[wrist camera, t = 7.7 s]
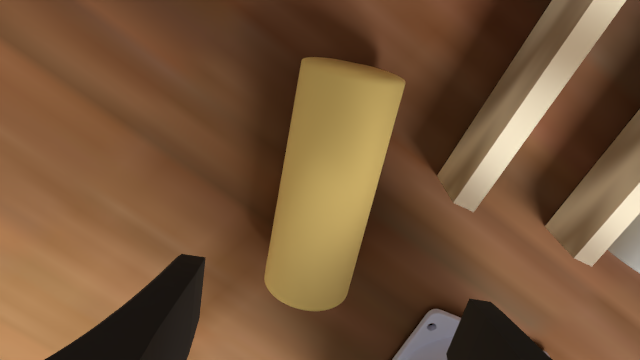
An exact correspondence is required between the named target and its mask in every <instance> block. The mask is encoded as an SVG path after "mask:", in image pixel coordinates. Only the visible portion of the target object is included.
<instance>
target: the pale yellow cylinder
mask: <svg viewBox="0 0 640 360" xmlns="http://www.w3.org/2000/svg"><path fill="white" fill-rule="evenodd" d="M404 87H405V80H404V79H402V78H401V77H399V76H397V75H395V74H393V73H390V72H388V71H385V70H382V69H379V68H375V67H372V66H368V65H363V64H358V63H353V62H348V61H343V60H338V59H333V58H324V57H307V58H303V59H302V61H301V66H300V72H299V78H298V84H297V90H296V95H295V101H294V107H293V113H292V119H291V124H290V130H289V136H288V142H287V147H286V153H285V159H284V165H283V171H282V176H281V182H280V188H279V194H278V200H277V205H276V211H275V217H274V223H273V229H272V234H271V240H270V246H269V252H268V258H267V263H266V269H265V275H264V280H265V284H266V287H267V288H268V290H269V291H270V293H271V294H272V295H273V296H274V297H275V298H277V299H278V300H279V301H281V302H283V303H284V304H286V305H288V306H291V307H294V308H297V309H301V310H306V311H323V310H328V309H331V308H334V307H336V306H338V305H339V304H341V303H342V302H343V301H344V300H345V298H346V296H347V294H348V290H349V286H350V283H351V279H352V275H353V272H354V268H355V265H356V261H357V257H358V254H359V250H360V246H361V243H362V239H363V235H364V232H365V228H366V225H367V221H368V217H369V214H370V210H371V206H372V203H373V199H374V196H375V192H376V188H377V185H378V181H379V177H380V174H381V170H382V166H383V163H384V159H385V156H386V152H387V148H388V145H389V141H390V137H391V134H392V130H393V126H394V123H395V119H396V116H397V112H398V108H399V105H400V101H401V97H402V94H403V90H404Z"/></svg>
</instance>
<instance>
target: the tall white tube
mask: <svg viewBox="0 0 640 360" xmlns="http://www.w3.org/2000/svg"><path fill="white" fill-rule="evenodd" d="M607 250H609V251H610V252H611V253H612V254H613V255H615V256H616V257H617V258H619V259H620V260H621V261H623V262H624V263H625V264H627V265H628V266H630V267H631V268H633V269H634V270H636V271H637V272H639V273H640V213H639V215H638V216H637V217H636V218H635V219H634V220H633V221H632V222H631V223H630V225H629V226H628V227H627V228H626V229H625V230H624V231H623V232H622V233H621V235H620V236H619V237H618V238H617V239H616V240H615V241H614V242H613V243H612V245H611V246H610V247H609V248H608V249H607Z"/></svg>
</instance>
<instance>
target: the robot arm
mask: <svg viewBox="0 0 640 360" xmlns="http://www.w3.org/2000/svg"><path fill="white" fill-rule="evenodd" d="M204 267H205V258H204V257H198V256H192V255H185V254H181V255H180V256H178V257H177V258H176V259H175V260H174V261H173V262H172V263H171V264H170V265H169V266H168V267H166V268H165V269H164V270H163V271H162V272H161V273H160V274H159V275H158V276H157V277H156V278H155V279H154V280H152V281H151V282H150V283H149V284H148V285H147V286H146V287H145V288H143V289H142V290H141V291H140V292H139V293H138V294H136V295H135V296H134V297H133V298H132V299H130V300H129V301H128V302H127V303H126V304H124V305H123V306H122V307H121V308H119V309H118V310H117V311H115V312H114V313H113V314H111V315H110V316H109V317H107V318H106V319H105V320H104V321H102V322H101V323H100V324H98V325H97V326H96V327H94V328H93V329H91V330H90V331H88V332H87V333H86V334H84V335H83V336H81V337H80V338H78V339H77V340H75V341H74V342H72V343H71V344H69V345H68V346H66V347H64V348H63V349H61V350H60V351H58V352H57V353H55V354H53V355H52V356H50V357H48V358H46V359H45V360H187V357H188V355H189V352H190V348H191V345H192V341H193V338H194V335H195V331H196V328H197V324H198V321H199V316H200V306H201V296H202V286H203V277H204ZM431 323H434V324H433V325H430V326H429V324H431ZM392 360H552V359H551V358H550V356H549V355H548V353H547V352H545V351H543V350H541V349H540V348H539V347H538V346H537V345H536V344H535V343H534V342H533V341H532V340H531V339H530V338H529V337H528V336H527V335H526V334H525V333H524V332H523V331H522V330H521V329H520V328H519V327H518V326H517V325H515V324H514V323H513V322H512V321H511V320H510V319H509V318H508V317H507V316H506V315H505V314H504V313H503V312H502V311H501V310H499V309H498V308H497V307H496V306H495V305H494V304H492V303H491V302H487V301H481V300H474V299H469V301H468V303H467V306H466V308H465V310H464V313H463V315H462V318H460V317H458V316H455V315H453V314H450V313H448V312H445V311H443V310H440V309H432V310H430V311H429V312H428V313H427V314H426V315H425V316H424V318H423V319H422V320H421V322H420V323H419V324H418V326H417V327H416V328H415V330H414V331H413V332H412V334H411V335H410V336H409V338H408V339H407V340H406V342H405V343H404V344H403V346H402V347H401V348H400V350H399V351H398V352H397V354H396V355H395V356H394V358H393V359H392Z"/></svg>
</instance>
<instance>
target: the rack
mask: <svg viewBox="0 0 640 360" xmlns="http://www.w3.org/2000/svg"><path fill="white" fill-rule="evenodd" d="M625 1H626V0H552V1H551V2H550V4H549V6H548V7H547V9H546V10H545V12H544V13H543V15H542V16H541V18H540V19H539V21H538V22H537V24H536V25H535V27H534V28H533V30H532V31H531V33H530V35H529V36H528V38H527V39H526V41H525V42H524V44H523V45H522V47H521V48H520V50H519V51H518V53H517V54H516V56H515V57H514V59H513V60H512V62H511V64H510V65H509V67H508V68H507V70H506V71H505V73H504V74H503V76H502V77H501V79H500V80H499V82H498V83H497V85H496V86H495V88H494V90H493V91H492V93H491V94H490V96H489V97H488V99H487V100H486V102H485V103H484V105H483V106H482V108H481V109H480V111H479V112H478V114H477V115H476V117H475V119H474V120H473V122H472V123H471V125H470V126H469V128H468V129H467V131H466V132H465V134H464V135H463V137H462V138H461V140H460V141H459V143H458V144H457V146H456V148H455V149H454V151H453V152H452V154H451V155H450V157H449V158H448V160H447V161H446V163H445V164H444V166H443V167H442V169H441V170H440V172H439V173H438V175H437V177H438V178H439V180H440V182H441V183H442V185H443V187H444V188H445V190H446V192H447V193H448V195H449V197H450V198H451V200H452V202H453V203H455V204H457V205H459V206H461V207H463V208H466V209H468V210H470V211H472V212H474V211H475V210H476V208H477V207H478V205H479V204H480V203H481V201H482V200H483V198H484V197H485V196H486V194H487V193H488V192H489V190H490V189H491V187H492V186H493V185H494V183H495V182H496V180H497V179H498V178H499V176H500V175H501V173H502V172H503V171H504V169H505V168H506V167H507V165H508V164H509V162H510V161H511V160H512V158H513V157H514V155H515V154H516V153H517V151H518V150H519V148H520V147H521V146H522V144H523V143H524V142H525V140H526V139H527V137H528V136H529V135H530V133H531V132H532V130H533V129H534V128H535V126H536V125H537V123H538V122H539V121H540V119H541V118H542V117H543V115H544V114H545V112H546V111H547V110H548V108H549V107H550V105H551V104H552V103H553V101H554V100H555V98H556V97H557V96H558V94H559V93H560V92H561V90H562V89H563V87H564V86H565V85H566V83H567V82H568V80H569V79H570V78H571V76H572V75H573V73H574V72H575V71H576V69H577V68H578V67H579V65H580V64H581V62H582V61H583V60H584V58H585V57H586V55H587V54H588V53H589V51H590V50H591V48H592V47H593V46H594V44H595V43H596V42H597V40H598V39H599V37H600V36H601V35H602V33H603V32H604V30H605V29H606V28H607V26H608V25H609V23H610V22H611V21H612V19H613V18H614V17H615V15H616V14H617V12H618V11H619V10H620V8H621V7H622V5H623V4H624V3H625ZM639 213H640V109H639V110H638V112H637V113H636V114H635V115H634V117H633V118H632V119H631V120H630V122H629V123H628V124H627V125H626V127H625V128H624V129H623V130H622V131H621V133H620V134H619V135H618V136H617V138H616V139H615V140H614V141H613V143H612V144H611V145H610V146H609V148H608V149H607V150H606V151H605V152H604V154H603V155H602V156H601V157H600V159H599V160H598V161H597V162H596V164H595V165H594V166H593V167H592V169H591V170H590V171H589V172H588V174H587V175H586V176H585V177H584V178H583V180H582V181H581V182H580V183H579V185H578V186H577V187H576V188H575V190H574V191H573V192H572V193H571V195H570V196H569V197H568V198H567V199H566V201H565V202H564V203H563V204H562V206H561V207H560V208H559V209H558V211H557V212H556V213H555V214H554V216H553V217H552V218H551V219H550V220H549V222H548V223H547V224H546V225H545V227H546V228H547V229H548V231H549V232H550V233H551V234H552V235H553V236H554V237H555V238H556V239H557V240H558V241H559V243H560V244H561V245H562V246H563V247H564V248H565V249H566V250H567V251H568V252H569V253H570V255H571V256H572V257H573V258H575V259H577V260H579V261H581V262H583V263H585V264H588V265H590V266H593V265H594V263H595V262H596V261H597V260H598V259H599V258H600V257H601V256H602V255H603V253H604V252H605V251H606V250H607V249H608V248H609V247H610V246H611V245H612V243H613V242H614V241H615V240H616V239H617V238H618V237H619V236H620V235H621V233H622V232H623V231H624V230H625V229H626V228H627V227H628V226H629V225H630V223H631V222H632V221H633V220H634V219H635V218H636V217H637V216H638V215H639Z"/></svg>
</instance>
